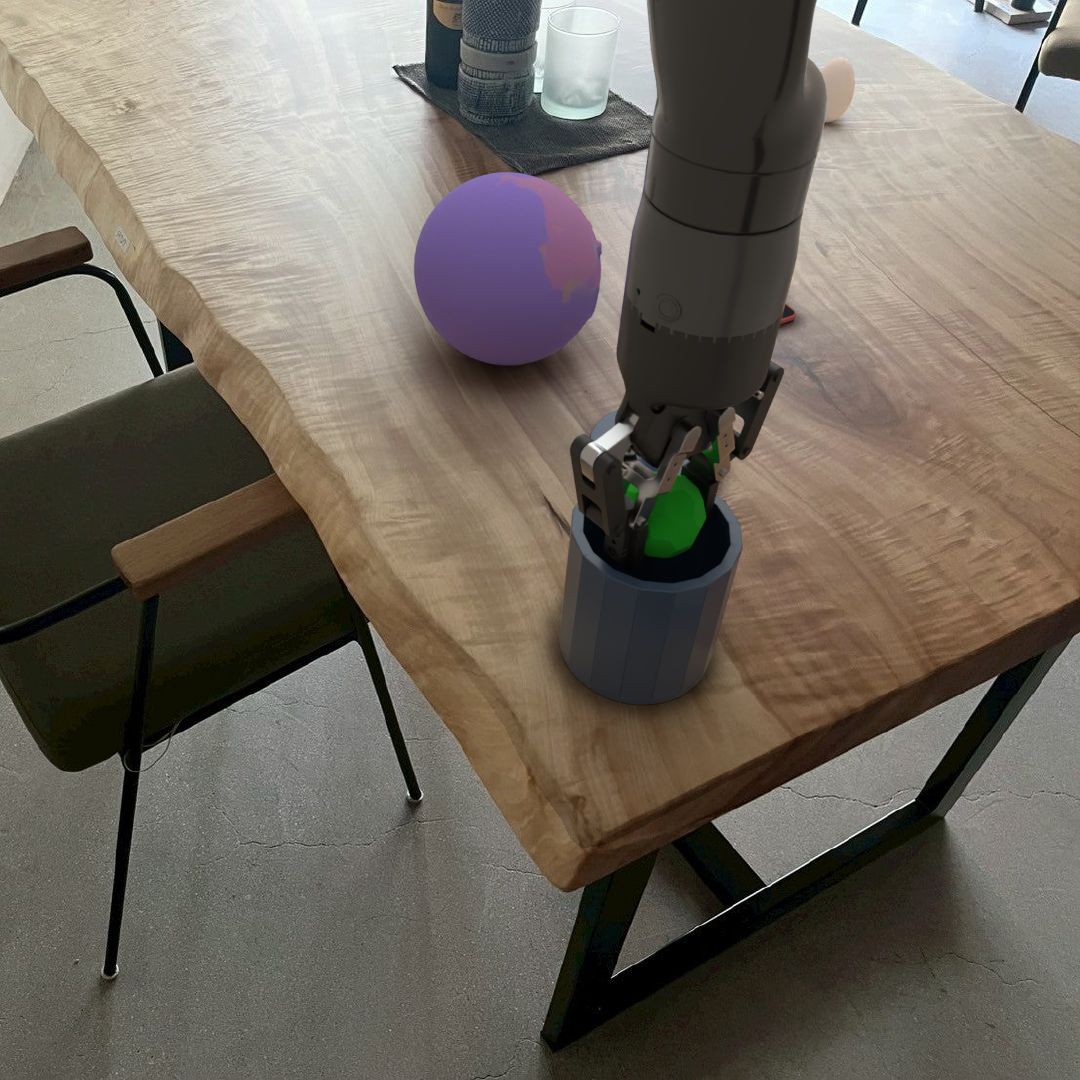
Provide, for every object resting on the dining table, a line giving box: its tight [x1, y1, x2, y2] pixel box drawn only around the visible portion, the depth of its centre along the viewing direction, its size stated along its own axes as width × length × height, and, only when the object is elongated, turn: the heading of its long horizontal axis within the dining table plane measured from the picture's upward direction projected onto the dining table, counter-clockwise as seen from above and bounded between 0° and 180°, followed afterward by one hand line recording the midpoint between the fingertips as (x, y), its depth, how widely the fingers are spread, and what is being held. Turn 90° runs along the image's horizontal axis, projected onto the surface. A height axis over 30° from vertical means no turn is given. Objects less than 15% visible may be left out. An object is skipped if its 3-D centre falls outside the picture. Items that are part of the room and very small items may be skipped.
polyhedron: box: [625, 472, 706, 558], centre depth 59 cm, size 5×5×5 cm
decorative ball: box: [413, 171, 603, 366], centre depth 84 cm, size 15×15×15 cm
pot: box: [558, 494, 744, 706], centre depth 64 cm, size 10×10×10 cm
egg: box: [820, 56, 856, 123], centre depth 123 cm, size 5×5×7 cm
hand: (657, 539), depth 61 cm, fingers closed on polyhedron, 5 cm apart
